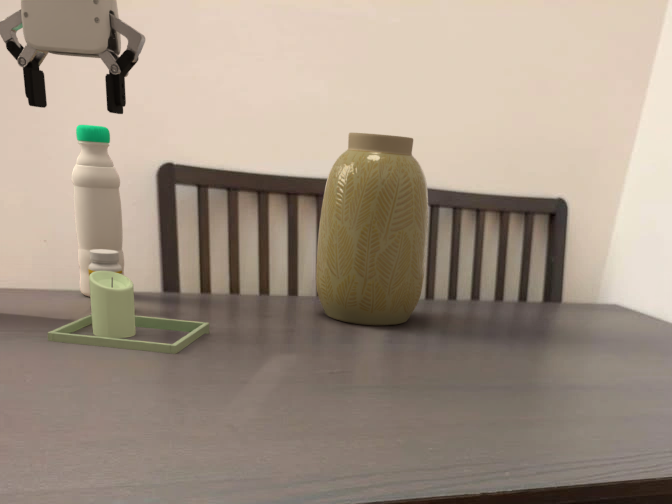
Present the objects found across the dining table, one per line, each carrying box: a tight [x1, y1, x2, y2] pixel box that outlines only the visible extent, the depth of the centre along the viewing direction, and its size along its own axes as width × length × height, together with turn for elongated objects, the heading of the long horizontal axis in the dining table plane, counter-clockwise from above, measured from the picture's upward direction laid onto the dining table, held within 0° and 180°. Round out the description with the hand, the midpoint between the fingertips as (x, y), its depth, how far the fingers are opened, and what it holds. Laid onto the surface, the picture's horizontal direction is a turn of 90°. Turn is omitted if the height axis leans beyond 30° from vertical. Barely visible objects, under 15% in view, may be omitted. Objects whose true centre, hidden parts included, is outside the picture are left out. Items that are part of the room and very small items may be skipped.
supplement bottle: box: [88, 249, 122, 285], centre depth 108 cm, size 5×5×8 cm
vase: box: [315, 132, 429, 327], centre depth 114 cm, size 17×17×27 cm
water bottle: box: [71, 124, 125, 298], centre depth 114 cm, size 7×7×25 cm
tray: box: [47, 313, 210, 355], centre depth 90 cm, size 15×13×2 cm
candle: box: [89, 271, 137, 339], centre depth 89 cm, size 5×5×8 cm
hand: (76, 109), depth 88 cm, fingers open, 9 cm apart
